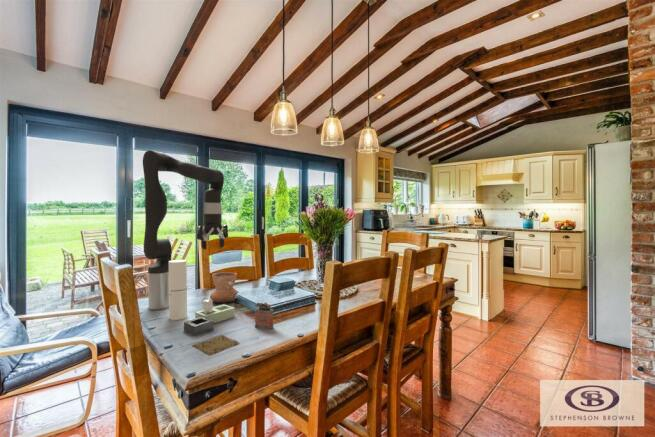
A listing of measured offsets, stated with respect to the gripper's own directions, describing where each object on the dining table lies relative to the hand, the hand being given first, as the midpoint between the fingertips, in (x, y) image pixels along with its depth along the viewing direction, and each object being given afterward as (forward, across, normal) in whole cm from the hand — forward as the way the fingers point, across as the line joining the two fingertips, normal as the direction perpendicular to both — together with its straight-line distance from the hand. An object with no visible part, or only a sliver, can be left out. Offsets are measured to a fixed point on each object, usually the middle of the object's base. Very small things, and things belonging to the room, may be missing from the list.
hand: (213, 248), depth 142 cm
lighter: (+30, -3, +32) cm, 44 cm away
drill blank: (+30, +7, +8) cm, 32 cm away
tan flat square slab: (+30, +18, +31) cm, 47 cm away
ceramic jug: (+30, -14, -13) cm, 36 cm away
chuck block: (+30, +15, +14) cm, 36 cm away
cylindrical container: (+30, +13, -7) cm, 34 cm away
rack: (+30, +4, +8) cm, 31 cm away
